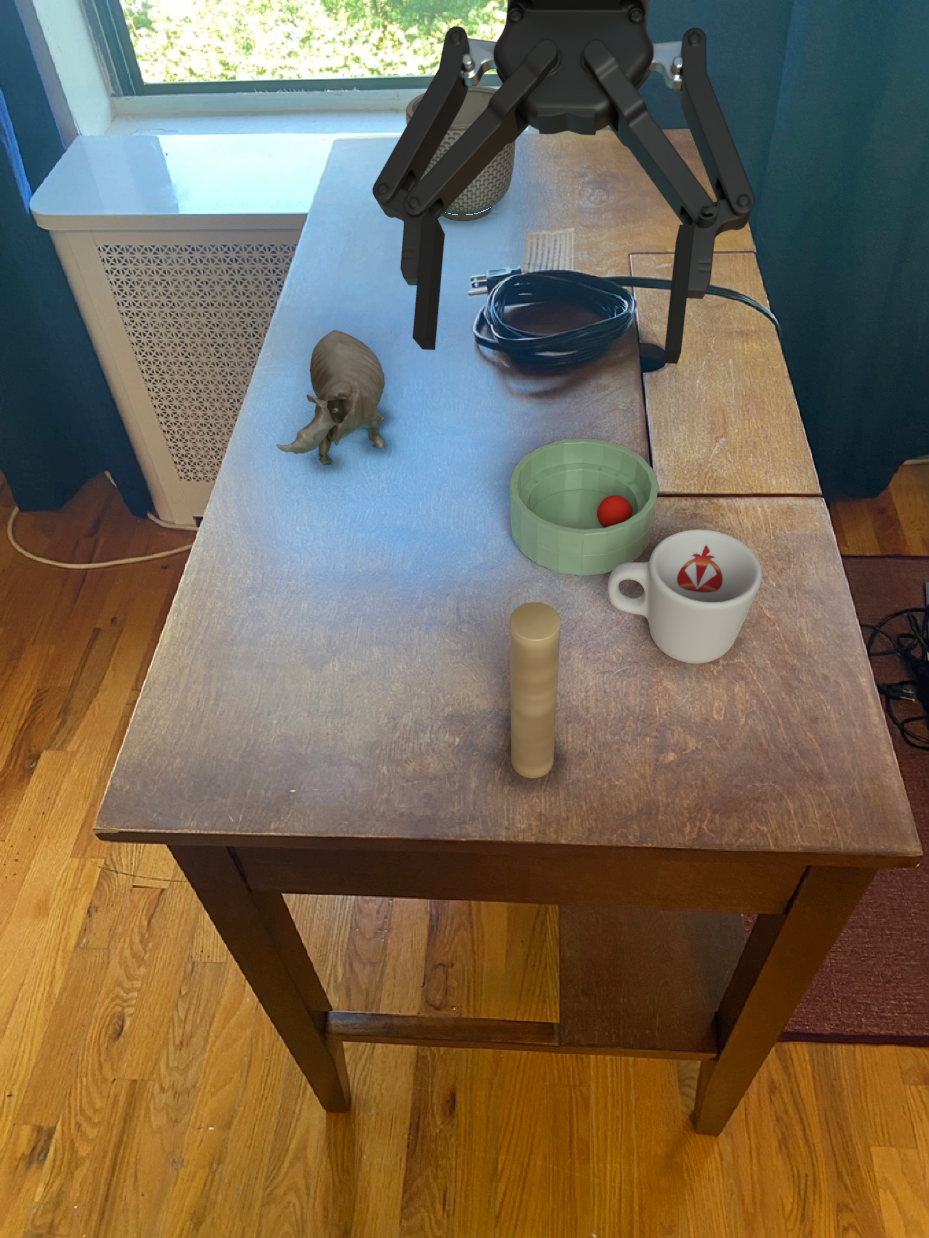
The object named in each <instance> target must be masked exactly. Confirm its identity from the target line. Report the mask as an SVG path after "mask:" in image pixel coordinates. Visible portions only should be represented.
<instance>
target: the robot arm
mask: <svg viewBox="0 0 929 1238" xmlns="http://www.w3.org/2000/svg"><path fill="white" fill-rule="evenodd" d="M650 2H651V0H507V4H506V5H507V7H506V16H505V24H504V27H503V30H502V31H501V34H500V36H499V37H498V39H497V40H496V41H494V40H487V39H478V38H471V37H468V34H467V31H466V30H465V28H463V27H462V26H459V25H455V26H451V27H450V28H448V30H447V31H446V33H445V35H444V39H443V46H442V50H441V55H440V61H439V65H438V69H437V71H436V73H435V74H434V76H433V78H432V80H431V82H430V83H429V84H428V87H427V89H426V90H425V92H424V93H425V94H424V96H423V98H422V99H421V101H420V103H419V105H418V107H417V108H416V110H415V112H414V114H413V116H412V117H411V119H410V121H409V123H408V124H406V126H405V128H404V130H403V132H402V134H401V135H400V136H399V139H398V140H397V143H396V145H395V146H394V147H393V149H392V151H391V153H390V155H389V157H388V158H387V160H386V162H385V164H384V165H383V167H382V169H381V171H380V173H379V175H378V176H377V178H376V180H375V182H374V184H373V186H372V188H371V189H372V195H373V197H374V199H375V200H376V202H377V204H378V205H379V207H380V209H381V210H382V212H383V213H384V215H385V216H387V217H388V218H392V219H394V218H395V219H397V220H401V222H403V230H402V242H401V243H402V244H401V253H400V254H401V255H400V256H401V258H400V266H399V270H400V272H401V275H402V278H403V280H404V281H405V282H406V284H407V285H408V286H416V292H415V303H414V304H415V305H414V315H413V327H412V339H413V340H414V341H415V343H416V344H417V345H418V346H419V348H420V349H421V350H425V351H427V350H428V351H436V345H437V344H436V343H437V333H438V332H437V331H438V321H439V320H438V319H439V309H440V298H441V297H440V295H441V287H442V285H441V284H442V274H443V273H442V272H443V261H444V252H445V251H444V250H445V240H446V233H445V231H444V229H443V227H442V225H441V222H440V221H439V219H440V217H441V216H443V215H442V214H443V213H444V212H445V211H446V210H447V209H448V207H449V206H450V205H451V204H452V203H453V202H454V201H455V200H456V199H457V198H458V197H459V196H460V194H461V193H462V192H463V191H464V190H465V189H466V188H467V187H468V186H469V185H470V184H471V183H472V181H473V180H474V179H475V178H476V177H477V176H478V175H479V174H480V173H481V172H482V171H483V170H484V168H485V167H486V166H487V165H488V164H489V163H490V162H491V161H492V160H493V159H494V158H495V157H496V155H497V154H498V153H499V152H500V151H501V150H502V149H503V148H504V147H505V146H506V145H507V144H509V143H512V142H514V141H515V140H517V139H518V138H519V137H520V136H521V135H522V134H523V133H524V131H526V129H528V128H529V126H530V127H532V128H533V129H535V130H538V134H539V135H556V134H559V133H563V132H571V133H574V134H577V135H581V136H596V134H597V132H598V131H601V130H603V129H605V128H607V127H608V126H609V129H611V130H612V133H613V134H614V135H615V136H616V137H617V139H618V140H619V141H620V143H621V144H622V145H623V147H627V149H628V150H629V152H630V153H631V154H632V155H633V157H634V158H635V159H636V161H637V162H638V164H639V165H640V167H641V168H642V170H643V171H644V172H645V174H646V175H647V176H648V178H649V179H650V180H651V182H652V183H653V184H654V186H655V187H656V189H657V190H658V192H659V193H660V195H661V196H662V197H663V199H664V200H665V201H666V202H667V204H668V206H669V207H670V208H671V210H672V211H673V212H674V214H675V215H676V217H677V218H678V220H679V221H680V222H681V223H682V224H679V226H678V230H677V235H676V238H675V239H676V240H675V245H674V254H673V255H674V256H673V265H672V274H671V275H672V276H671V283H670V284H671V285H670V293H669V301H668V302H669V304H668V312H667V313H668V314H667V323H666V334H665V343H664V353H663V361H662V363H663V364H673V365H678V363H679V360H680V357H681V354H682V347H683V338H684V329H685V319H686V310H687V302H688V301H687V300H688V299H692V300H693V299H694V300H703V299H704V297H705V296H706V293H707V292H708V289H709V287H710V284H711V280H712V270H713V263H714V262H713V261H714V251H715V244H716V243H715V242H716V238H717V237H718V236H719V235H720V234H722V233H724V232H727V231H731V230H732V231H740V230H742V229H744V228H745V227H746V226H747V224H748V222H749V220H750V217H751V215H752V212H753V210H754V208H755V205H756V196H755V193H754V191H753V187H752V186H751V183H750V181H749V177H748V175H747V173H746V170H745V167H744V164H743V162H742V159H741V157H740V154H739V152H738V149H737V147H736V144H735V142H734V139H733V136H732V134H731V131H730V129H729V126H728V123H727V120H726V119H725V116H724V113H723V110H722V108H721V105H720V103H719V101H718V100H719V99H718V97H717V95H716V92H715V90H714V87H713V85H712V82H711V79H710V77H709V75H708V70H707V69H708V68H707V35H706V33H705V31H704V30H703V29H702V28H700V27H691V28H689V29H688V30H686V31H685V32H684V34H683V35H682V39H681V40H671V41H660V42H653V41H652V39H651V37H650V34H649V31H648V21H649V11H650ZM491 70H495V72H496V74H497V76H498V78H499V79H500V81H501V83H502V84H501V86H499V87H498V88H497V89H498V90H497V91H496V92H495V93H494V94H493V96H492V97H491V99H490V100H489V103H488V106H487V108H486V109H485V110H484V111H483V113H482V114H481V115H480V116H479V117H478V118H477V119H476V120H475V121H474V122H473V123H472V125H471V126H470V127H469V128H468V129H467V130H466V131H465V132H464V133H463V134H462V136H461V137H460V138H459V139H458V140H457V141H456V142H455V143H454V144H453V145H452V147H451V148H450V149H449V150H448V151H447V152H446V153H445V154H444V155H443V156H442V157H441V159H440V160H439V161H438V162H437V163H436V164H435V165H434V166H433V167H432V168H431V170H430V171H429V172H428V173H427V174H426V175H425V176H424V177H423V178H422V176H423V174H424V172H425V171H426V169H427V167H428V165H429V163H430V162H431V160H432V158H433V156H434V155H435V153H436V151H437V149H438V148H439V146H440V144H441V142H442V141H443V139H444V137H445V135H446V133H447V132H448V130H449V128H450V126H451V125H452V123H453V121H454V119H455V118H456V116H457V114H458V112H459V110H460V109H461V107H462V105H463V103H464V100H465V97H466V95H467V91H468V87H476V86H478V85H479V84H480V82H481V80H482V78H483V76H484V74H485V73H487V72H488V71H491ZM651 73H658V74H660V75H661V76H662V77H663V81H664V84H665V86H666V87H667V88H668V89H670V90H671V91H673V92H676V91H678V97H679V103H680V107H681V110H682V113H683V116H684V119H685V122H686V124H687V127H688V129H689V131H690V135H691V138H692V139H693V142H694V145H695V148H696V150H697V153H698V154H699V157H700V160H701V163H702V165H703V168H704V170H705V173H706V177H707V179H708V181H709V184H710V186H711V189H712V191H713V193H714V196H715V199H716V201H714V200H713V199H712V197H711V196H710V194H709V193H708V192H707V191H706V189H705V187H704V186H703V185H702V184H701V182H700V181H699V180H698V178H697V177H696V175H695V174H694V172H693V171H692V170H691V168H690V167H689V166H688V164H687V163H686V161H685V160H684V159H683V157H682V156H681V155H680V153H679V151H678V150H677V149H676V148H675V147H674V145H673V143H672V142H671V141H670V139H669V138H668V136H667V135H666V134H665V132H664V131H663V130H662V128H661V127H660V126H659V124H658V122H656V119H655V118H654V117H653V116H652V114H651V112H650V111H649V109H648V107H647V104H646V102H645V99H644V98H643V96H642V95H641V94H640V92H639V90H640V88H641V87H642V86H643V85H644V83H645V82H646V81H647V80H648V78H649V77H650V76H651ZM421 178H422V179H421ZM420 179H421V181H420ZM419 181H420V182H419Z"/></svg>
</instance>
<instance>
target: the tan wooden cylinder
mask: <svg viewBox="0 0 929 1238" xmlns="http://www.w3.org/2000/svg"><path fill="white" fill-rule="evenodd" d="M561 627H562V620H561V615H560V614H559V612H558V611H557V610H556V609H555V608H554V607H553V606H551V605H549V604H546V603H543V602H537V601H536V602H535V601H534V602H529V603H528V602H527V603H524V604H522V605H519V606H518V607H517V608H515V609H514V611H513V612H512V613H511V615H510V618H509V671H510V672H509V675H510V676H509V677H510V678H509V680H510V683H509V685H510V686H509V687H510V690H509V691H510V762H511V766H512V768H513V769H514V771H515V772H516V773H517V774H518V775H520V776H522V777H524V778H528V779H540V778H542V777H545V776H546V775H547V774H548V773H549V772H550V771H551V770H552V768H553V766H554V762H555V743H556V742H555V741H556V723H557V705H558V704H557V703H558V702H557V701H558V685H559V668H560V667H559V666H560V647H561V644H560V643H561Z"/></svg>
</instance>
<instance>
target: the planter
mask: <svg viewBox="0 0 929 1238" xmlns="http://www.w3.org/2000/svg"><path fill="white" fill-rule="evenodd" d="M498 89H499V88H496V87H495V88H494V87H490V86H482V85H477V86H476V87H468V91H467V95H466V97H465V100H464V103H463V105H462V107H461V109H460V110H459V112H458V114H457V116H456V118H455V119H454V121H453V123H452V125H451V126H450V128H449V130H448V132H447V133H446V135H445V137H444V139H443V141H442V142H441V144H440V146H439V148H438V149H437V151H436V153H435V155H434V156H433V158H432V160H431V162H430V163H429V165H428V167H427V169H426V171H425V172H424V174H423V176H422V178H423V177H424V176H425V175H426V174H427V173H428V172H429V171H430V170H431V168H432V167H433V166H434V165H435V164H436V163H437V162H438V161H439V160H440V159H441V157H442V156H443V155H444V154H445V153H446V152H447V151H448V150H449V149H450V148H451V147H452V145H453V144H454V143H455V142H456V141H457V140H458V139H459V138H460V137H461V136H462V134H463V133H464V132H465V131H466V130H467V129H468V128H469V127H470V126H471V125H472V123H473V122H474V121H475V120H476V119H477V118H478V117H479V116H480V115H481V114H482V113H483V111H484V110H485V109H486V108H487V106H488V103H489V100H490V99H491V97H492V96H493V94H494V93H495V92H496V91H497V90H498ZM424 94H425V92H423V93H420V94H419V95H417V96H415V97H414V98H413V99H411V100H410V101H409V102H408V104H407V105H406V110H405V123H406V125H407V124H408V123H409V121H410V119H411V117H412V116H413V114H414V112H415V110H416V108H417V107H418V105H419V103H420V101H421V99H422V98H423V96H424ZM516 140H517V139H516ZM516 140H515V141H514V142H512V143H509V144H507V145H506V146H505V147H504V148H503V149H502V150H501V151H500V152H499V153H498V154H497V155H496V157H495V158H494V159H493V160H492V161H491V162H490V163H489V164H488V165H487V166H486V167H485V168H484V170H483V171H482V172H481V173H480V174H479V175H478V176H477V177H476V178H475V179H474V180H473V181H472V183H471V184H470V185H469V186H468V187H467V188H466V189H465V190H464V191H463V192H462V193H461V194H460V196H459V197H458V198H457V199H456V200H455V201H454V202H453V203H452V204H451V205H450V206H449V207H448V209H447V210H446V211H445V212H446V213H445V212H444V213H443V214H442V215H441V216H443V217H445V218H446V219H449V220H453V221H462V222H464V221H465V222H466V221H467V222H468V221H473V220H478V219H481V218H483V217H486V216H487V215H488V214H489V213H490V212H491V210H492V209H493V207H494V206H495V205H496V204H498V203H499V202H500V201H501V200H502V199H503V198H504V197H505V196H506V194H507V193H508V191H509V189H510V186H511V183H512V180H513V175H514V174H513V173H514V167H515V155H516V142H517V141H516ZM422 178H421V179H422ZM421 179H420V181H421ZM420 181H419V182H420ZM490 207H491V208H490ZM488 208H489V209H488ZM486 209H488V210H486ZM483 210H486V211H484V212H481V211H483ZM478 212H481V213H478ZM448 213H451V214H448ZM474 213H478V214H474ZM452 214H458V215H452ZM466 214H473V215H466Z"/></svg>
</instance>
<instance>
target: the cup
mask: <svg viewBox="0 0 929 1238" xmlns="http://www.w3.org/2000/svg"><path fill="white" fill-rule="evenodd" d="M649 557H650V558H649V561H645V562H641V561H640V562H638V561H637V562H636V561H632V562H629V563H624V564H620V565H618V566H617V567H616V568H614V570H613V571H610V572H611V573H610V575H609V577H608V582H607V595H608V600H609V601H610V603H611V605H613V607H614V608H616V609H617V610H619V611H621V612H624V613H628V614H632V615H633V614H634V615H640V616H642V617H644V618H646V619H647V622H648V628H649V632H650V633H649V634H650V636H651V638H652V640H653V642H654V643H655V645H656V647H657V648H658V649H659V650H660V651H662V653H664V654H665V655H666V656H668V657H669V658H672V659H673V660H676V661H679V662H682V663H687V664H704V663H711V662H712V661H715V660H717V659H719V658H721V657H723V656H724V655H725V654H727V653H728V651H729V650H730V649H731V648H732V646H733V645H734V644H735V642H736V640H737V638H738V636H739V634H740V631H741V629H742V627H743V625H744V623H745V621H746V618H747V616H748V613H749V611H750V609H751V606H752V604H753V602H754V600H755V598H756V595H757V593H758V592H759V589H760V587H761V583H762V579H763V572H762V566H761V563H760V561H759V559H758V557H757V555H756V554H755V552H754V551H753V550H752V549H751V548H750V546H748V545H747V544H745V543H744V542H743V541H741V540H740V539H738V538H736V537H734V536H732V535H729V534H727V533H724V532H722V531H717V530H711V529H701V528H699V529H698V528H697V529H688V530H687V529H686V530H682V531H681V530H680V531H679V532H676V533H673V534H671V535H668V536H667V537H665V538H664V539H663V540H661V541H660V542H659V543H658V544H656V546H655V548H654V549H653V551H652V552H651V554H650V556H649ZM628 580H632V581H635V582H636V583H638V584H640V585H641V587H642V588H643V593H642V594H641V595H640V596H637V597H629V596H626V595H624V594H623V593H622V592H621V590H620V586H619V585H620V583H622V582H623V581H628Z"/></svg>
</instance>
